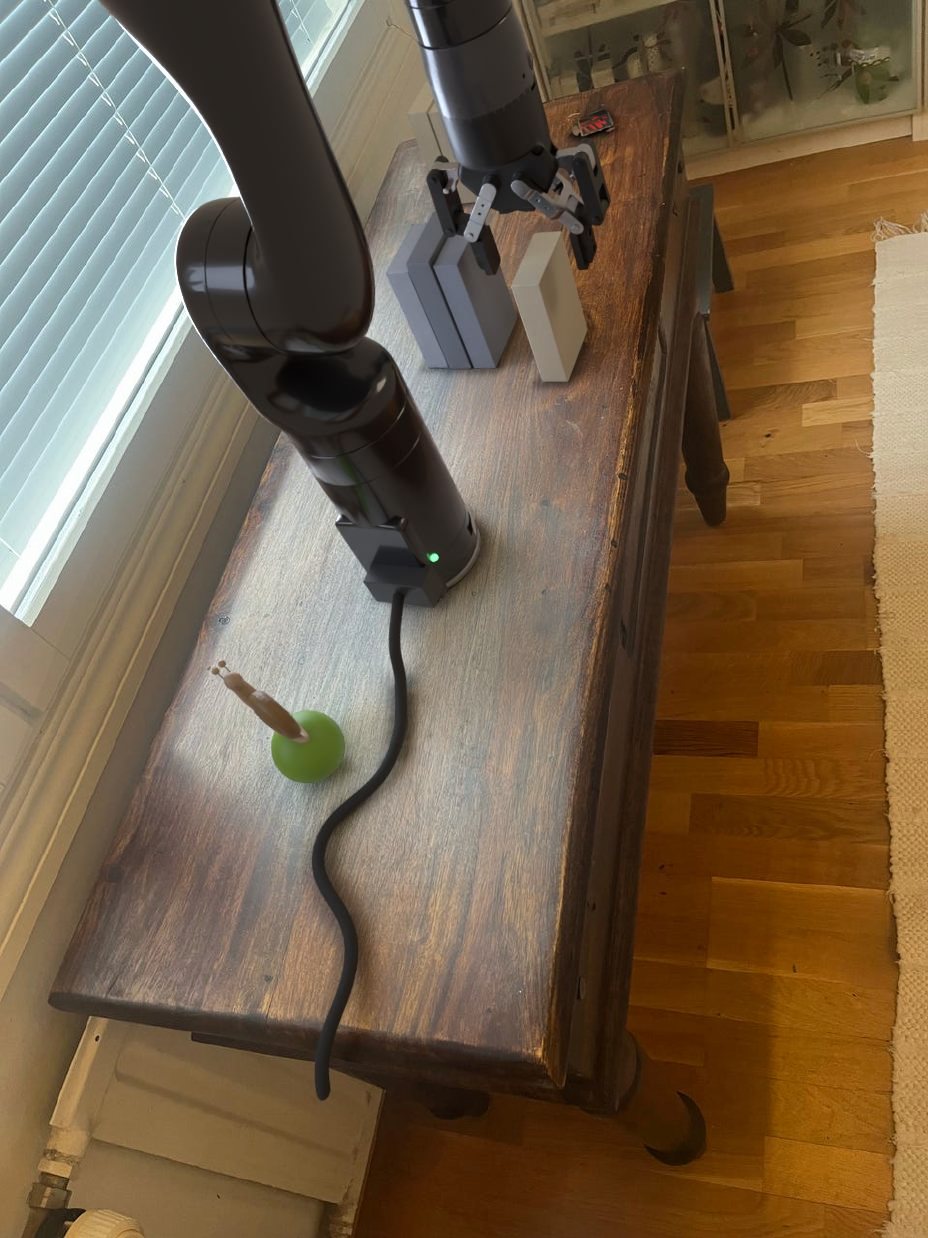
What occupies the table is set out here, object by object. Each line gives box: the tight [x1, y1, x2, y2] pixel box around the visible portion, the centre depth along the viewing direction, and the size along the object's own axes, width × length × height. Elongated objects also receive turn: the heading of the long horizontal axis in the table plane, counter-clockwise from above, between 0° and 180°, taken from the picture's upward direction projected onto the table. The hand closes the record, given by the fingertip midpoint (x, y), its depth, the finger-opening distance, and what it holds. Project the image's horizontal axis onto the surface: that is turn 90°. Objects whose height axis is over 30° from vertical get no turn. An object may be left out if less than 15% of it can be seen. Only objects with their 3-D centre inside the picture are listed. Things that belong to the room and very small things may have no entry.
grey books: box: [385, 210, 518, 370], centre depth 89 cm, size 7×8×12 cm
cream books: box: [406, 80, 478, 205], centre depth 106 cm, size 7×5×11 cm
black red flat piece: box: [570, 108, 617, 137], centre depth 108 cm, size 5×5×1 cm
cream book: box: [510, 230, 588, 383], centre depth 84 cm, size 7×3×11 cm, turn 160°
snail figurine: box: [211, 659, 346, 785], centre depth 67 cm, size 5×6×12 cm
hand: (539, 266), depth 81 cm, fingers open, 8 cm apart
